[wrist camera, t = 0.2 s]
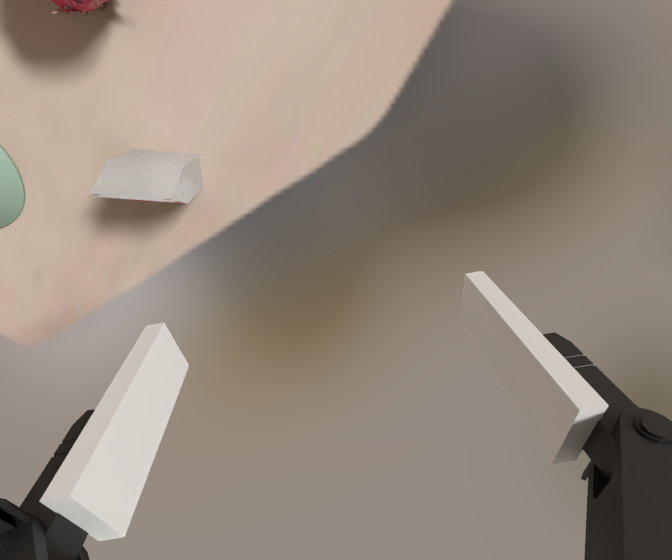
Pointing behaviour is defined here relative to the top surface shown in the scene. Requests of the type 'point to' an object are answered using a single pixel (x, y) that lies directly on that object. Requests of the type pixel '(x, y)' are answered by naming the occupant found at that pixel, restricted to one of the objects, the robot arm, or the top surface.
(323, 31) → the top surface
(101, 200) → the top surface
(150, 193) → the white paper snack bag
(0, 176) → the green plate
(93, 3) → the flower
